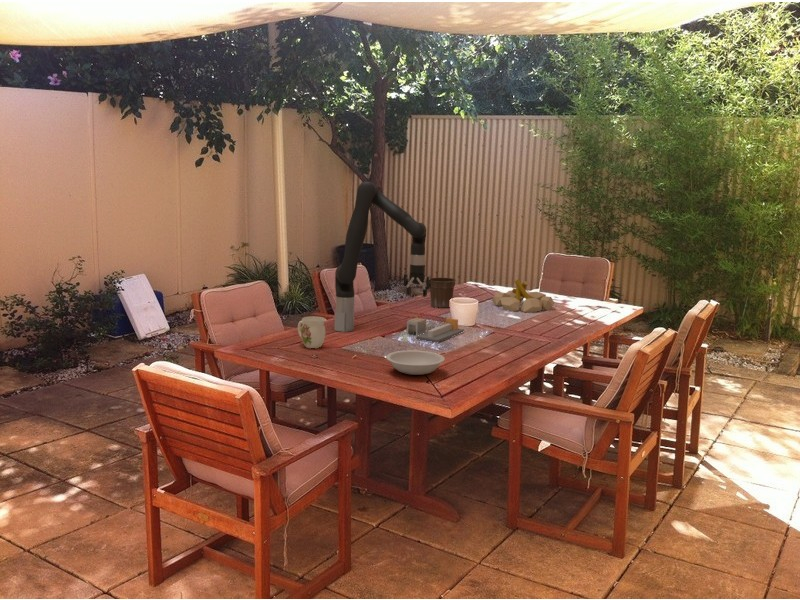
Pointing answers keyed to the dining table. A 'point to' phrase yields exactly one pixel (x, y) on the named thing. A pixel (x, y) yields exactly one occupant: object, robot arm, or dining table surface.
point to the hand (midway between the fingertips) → (416, 295)
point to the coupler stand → (442, 331)
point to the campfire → (516, 296)
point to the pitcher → (312, 331)
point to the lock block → (416, 326)
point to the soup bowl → (415, 361)
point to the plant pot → (441, 291)
